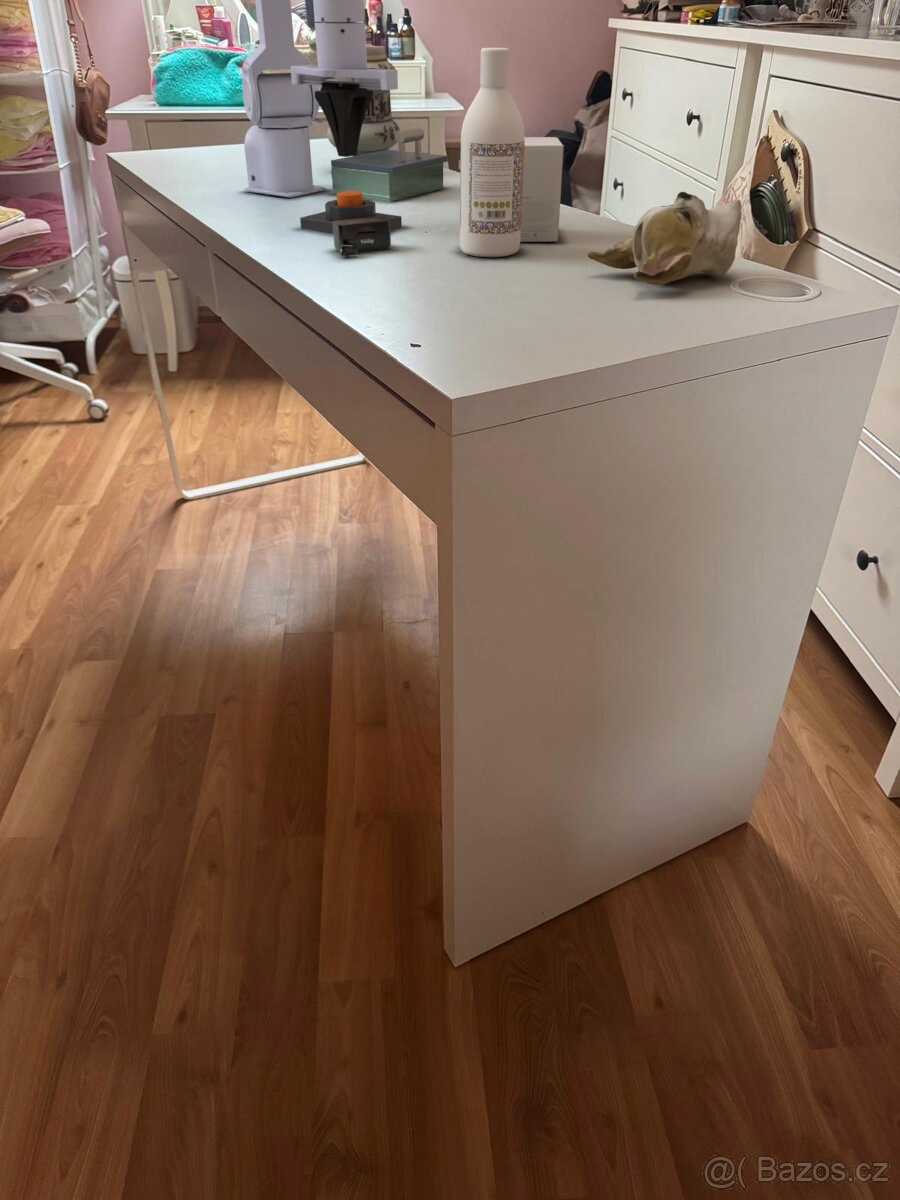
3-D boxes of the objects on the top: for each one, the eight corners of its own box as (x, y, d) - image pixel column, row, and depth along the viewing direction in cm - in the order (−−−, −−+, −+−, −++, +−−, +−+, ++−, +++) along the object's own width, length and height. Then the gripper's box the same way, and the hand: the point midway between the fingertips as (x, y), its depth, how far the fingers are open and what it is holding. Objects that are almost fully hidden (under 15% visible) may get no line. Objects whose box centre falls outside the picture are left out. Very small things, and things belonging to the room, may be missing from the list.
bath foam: (530, 254, 102) (541, 49, 91) (476, 261, 99) (480, 50, 88) (501, 242, 107) (508, 46, 96) (449, 248, 105) (450, 47, 93)
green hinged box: (443, 188, 137) (443, 161, 135) (389, 202, 128) (388, 173, 126) (388, 182, 142) (387, 155, 140) (333, 194, 133) (331, 166, 131)
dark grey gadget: (326, 251, 103) (324, 221, 101) (383, 245, 106) (381, 216, 104) (341, 260, 100) (339, 229, 98) (399, 253, 102) (398, 223, 101)
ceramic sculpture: (777, 191, 86) (642, 212, 82) (764, 282, 91) (636, 307, 87) (711, 175, 94) (585, 193, 90) (702, 260, 99) (583, 281, 95)
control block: (300, 229, 113) (298, 203, 111) (341, 218, 119) (340, 194, 117) (362, 239, 108) (361, 212, 107) (402, 227, 114) (401, 202, 112)
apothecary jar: (339, 165, 157) (331, 44, 147) (406, 166, 155) (403, 44, 145) (321, 176, 147) (312, 47, 137) (393, 177, 145) (389, 48, 135)
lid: (447, 161, 135) (447, 125, 132) (393, 173, 126) (392, 135, 123) (387, 155, 140) (386, 120, 137) (331, 166, 131) (328, 129, 128)
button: (332, 207, 112) (331, 193, 111) (348, 202, 114) (347, 189, 113) (352, 209, 110) (351, 196, 109) (368, 205, 112) (367, 192, 111)
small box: (558, 243, 107) (564, 145, 101) (511, 242, 107) (515, 144, 101) (553, 228, 113) (558, 136, 108) (508, 228, 114) (512, 135, 108)
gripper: (268, 22, 102) (280, 154, 109) (368, 24, 95) (374, 164, 103) (309, 21, 107) (318, 147, 114) (407, 23, 100) (410, 157, 107)
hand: (347, 155), depth 109 cm, fingers closed
